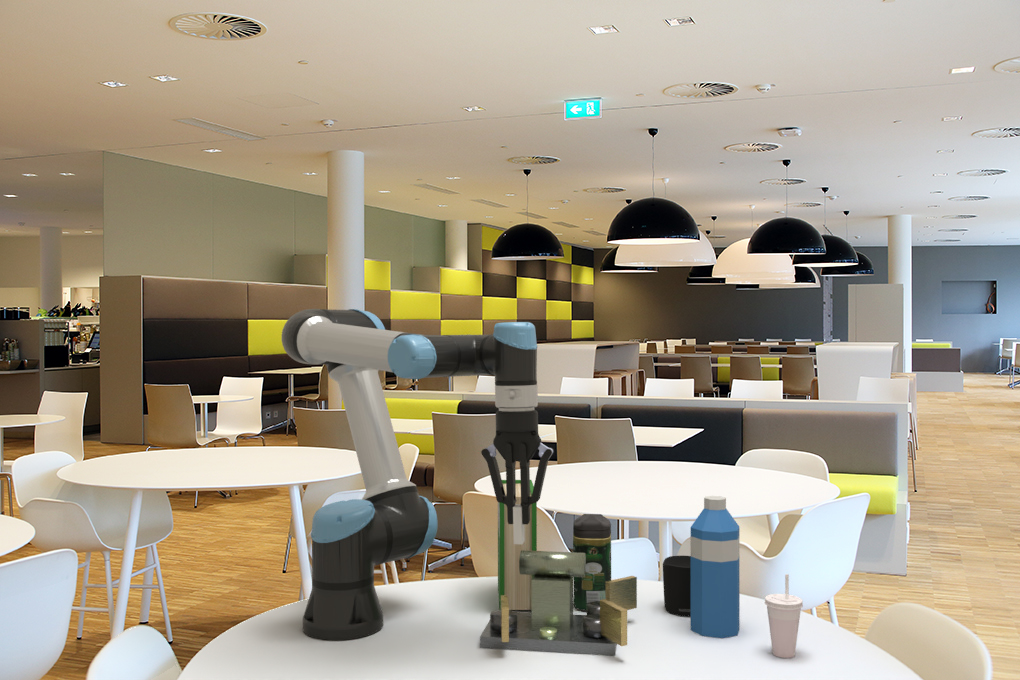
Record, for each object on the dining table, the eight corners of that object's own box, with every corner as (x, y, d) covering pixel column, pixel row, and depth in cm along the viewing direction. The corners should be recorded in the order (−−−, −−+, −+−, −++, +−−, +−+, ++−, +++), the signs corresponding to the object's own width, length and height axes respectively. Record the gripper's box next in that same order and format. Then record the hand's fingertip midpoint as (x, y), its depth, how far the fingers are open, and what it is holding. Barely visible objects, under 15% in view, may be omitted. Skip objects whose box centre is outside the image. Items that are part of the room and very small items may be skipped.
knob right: (577, 630, 159) (577, 594, 159) (601, 626, 161) (601, 591, 161) (611, 651, 148) (611, 612, 148) (636, 646, 150) (636, 608, 150)
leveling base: (480, 647, 156) (479, 561, 156) (495, 620, 171) (495, 541, 171) (615, 655, 152) (615, 567, 152) (618, 627, 167) (618, 546, 167)
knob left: (489, 623, 163) (489, 588, 163) (516, 622, 163) (516, 587, 163) (490, 645, 151) (490, 607, 151) (519, 644, 151) (519, 607, 151)
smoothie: (797, 663, 149) (797, 581, 149) (760, 656, 152) (760, 575, 152) (806, 651, 154) (807, 572, 154) (770, 645, 157) (770, 567, 157)
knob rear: (598, 624, 162) (598, 589, 162) (581, 617, 166) (580, 583, 166) (643, 612, 169) (643, 579, 168) (625, 606, 173) (625, 573, 173)
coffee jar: (574, 598, 186) (573, 510, 186) (611, 599, 185) (611, 511, 185) (571, 612, 176) (571, 520, 176) (611, 613, 175) (611, 521, 175)
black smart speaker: (653, 610, 178) (653, 560, 178) (681, 600, 184) (681, 553, 184) (691, 621, 171) (691, 570, 171) (719, 611, 177) (719, 561, 177)
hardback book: (536, 613, 175) (536, 494, 175) (499, 614, 175) (499, 494, 175) (531, 588, 193) (531, 479, 193) (497, 588, 193) (497, 479, 193)
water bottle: (749, 629, 166) (749, 497, 166) (724, 642, 159) (724, 504, 159) (706, 618, 172) (706, 491, 172) (680, 630, 165) (680, 498, 165)
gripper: (475, 410, 153) (478, 546, 153) (549, 410, 150) (552, 548, 150) (485, 407, 160) (488, 537, 160) (556, 407, 158) (558, 538, 157)
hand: (519, 542), depth 155 cm, fingers closed
